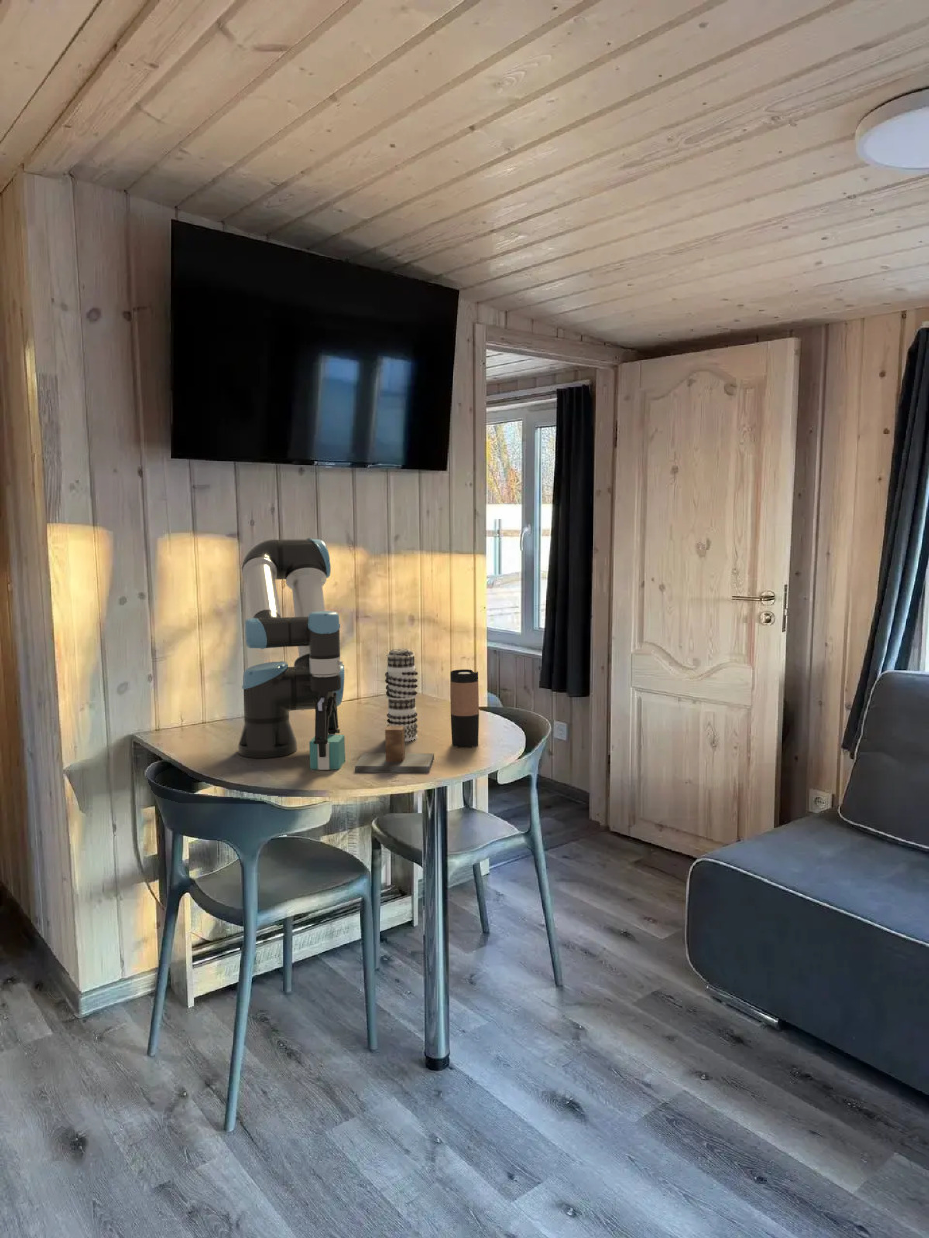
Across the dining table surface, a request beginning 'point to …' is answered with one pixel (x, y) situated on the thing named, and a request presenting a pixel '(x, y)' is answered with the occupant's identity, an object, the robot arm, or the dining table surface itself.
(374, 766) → the grey base with post
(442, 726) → the dining table surface
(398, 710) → the decorative candle
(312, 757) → the mint green cube
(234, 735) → the dining table surface
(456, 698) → the travel mug
